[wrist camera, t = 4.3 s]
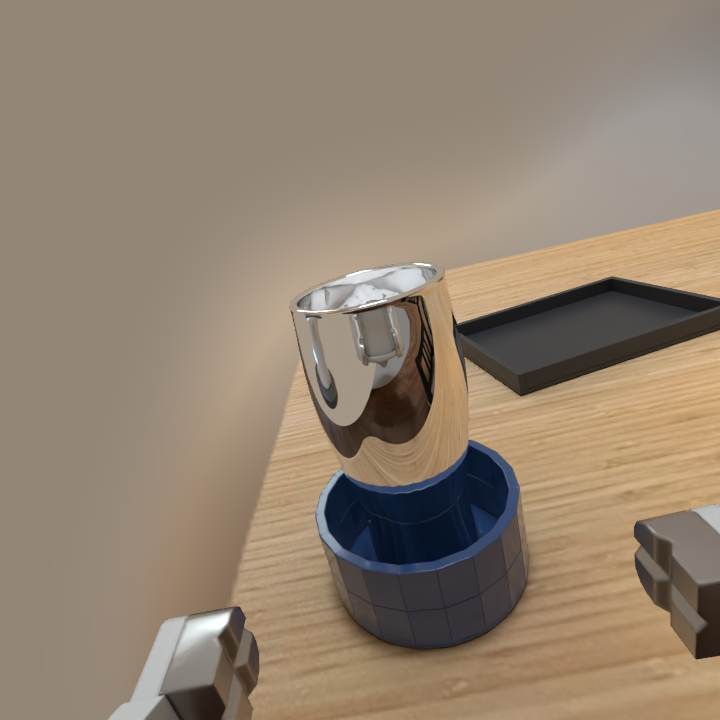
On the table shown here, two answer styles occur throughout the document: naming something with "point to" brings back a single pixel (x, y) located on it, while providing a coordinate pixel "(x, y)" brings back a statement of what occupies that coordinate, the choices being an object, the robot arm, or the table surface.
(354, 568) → the bowl
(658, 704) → the table surface
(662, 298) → the tray
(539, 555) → the table surface
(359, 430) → the silver goblet
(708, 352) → the table surface
